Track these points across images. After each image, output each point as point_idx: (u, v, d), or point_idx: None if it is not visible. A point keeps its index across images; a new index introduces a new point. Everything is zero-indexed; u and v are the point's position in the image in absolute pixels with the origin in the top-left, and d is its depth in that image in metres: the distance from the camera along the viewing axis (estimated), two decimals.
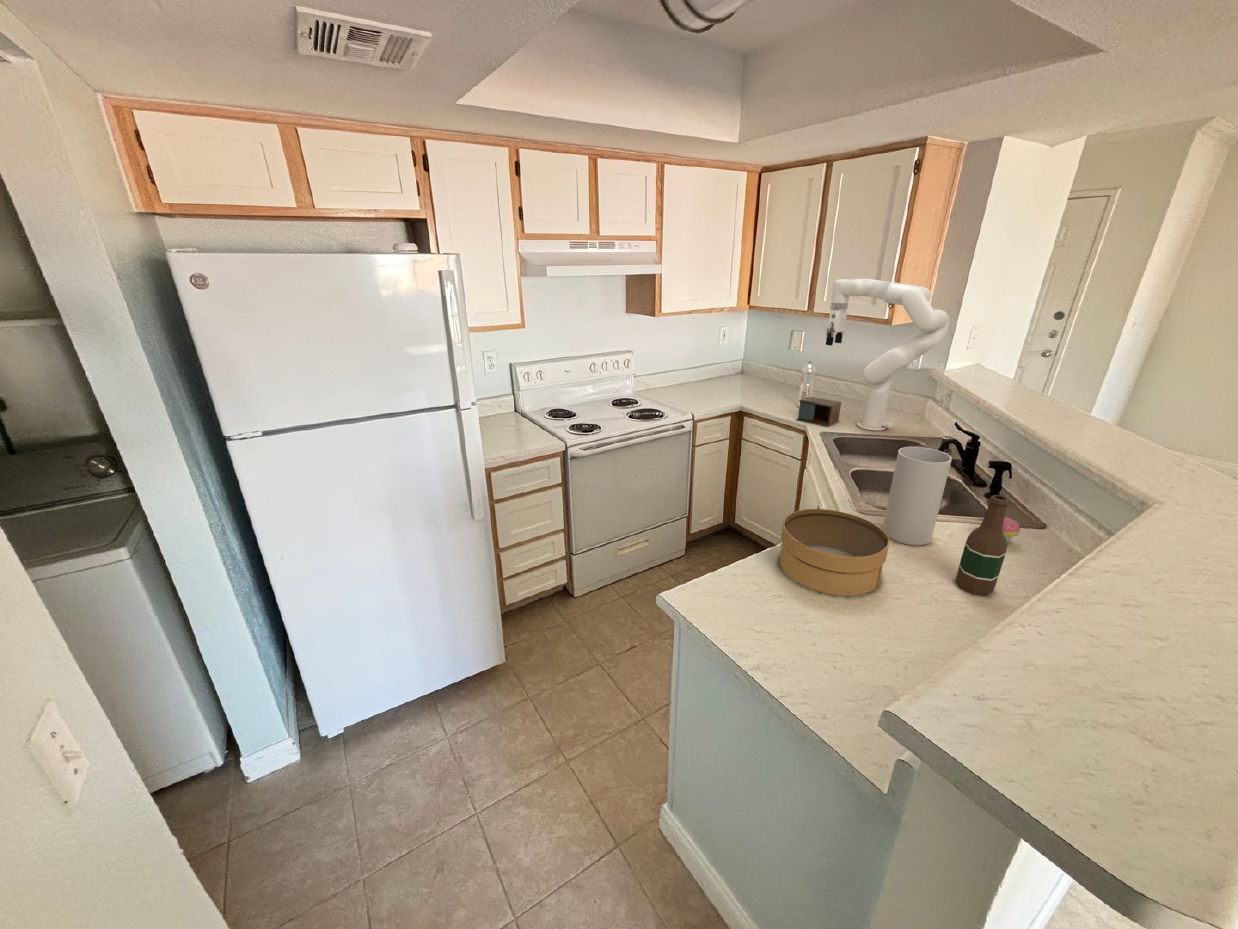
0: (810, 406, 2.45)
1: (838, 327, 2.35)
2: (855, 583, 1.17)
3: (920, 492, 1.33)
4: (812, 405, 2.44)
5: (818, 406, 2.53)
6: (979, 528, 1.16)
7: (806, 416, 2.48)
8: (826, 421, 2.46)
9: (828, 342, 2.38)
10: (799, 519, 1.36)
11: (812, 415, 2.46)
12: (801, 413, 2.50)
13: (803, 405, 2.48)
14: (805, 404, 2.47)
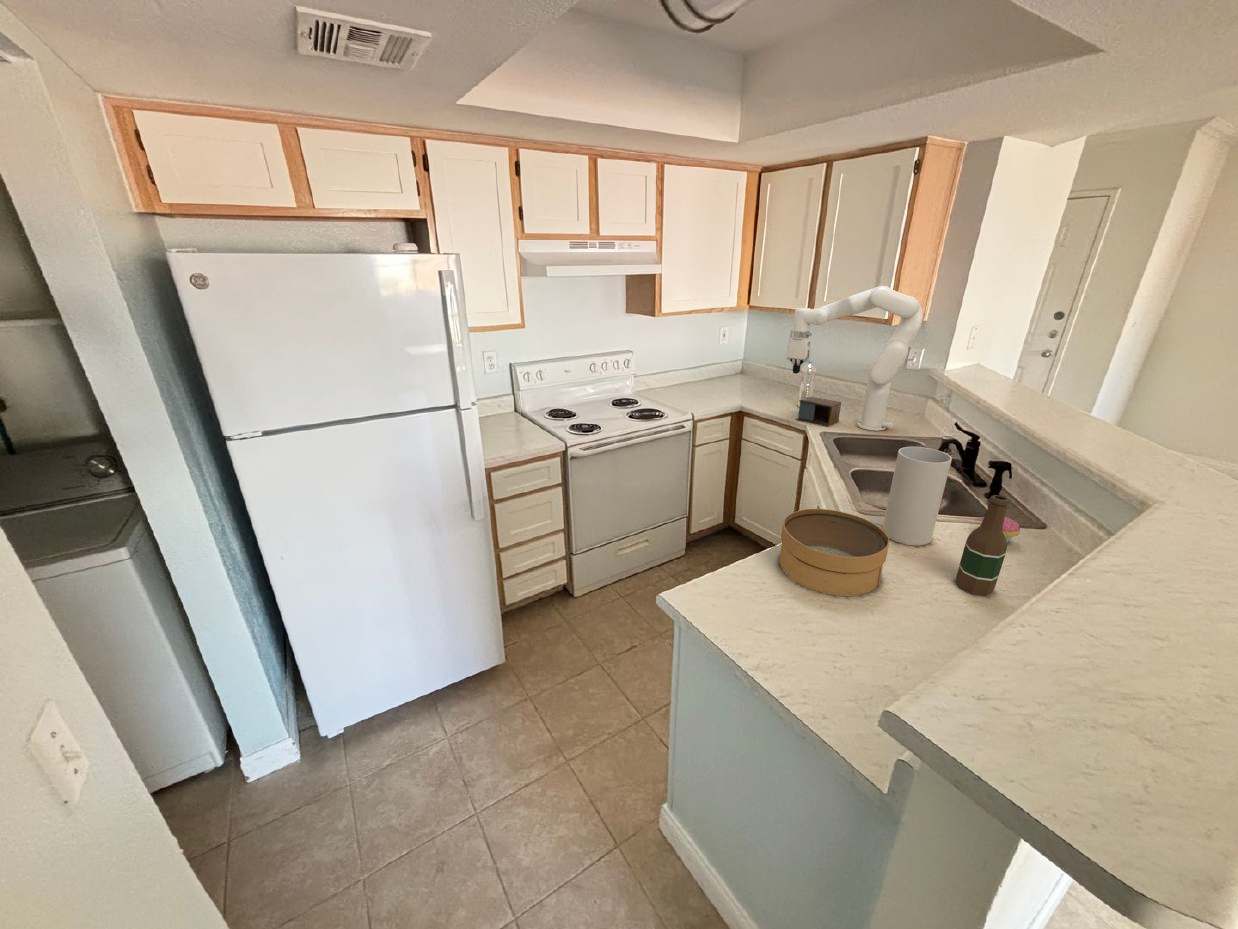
0: (810, 406, 2.45)
1: None
2: (855, 583, 1.17)
3: (920, 492, 1.33)
4: (812, 405, 2.44)
5: (818, 406, 2.53)
6: (979, 528, 1.16)
7: (806, 416, 2.48)
8: (826, 421, 2.46)
9: (799, 370, 2.45)
10: (799, 519, 1.36)
11: (812, 415, 2.46)
12: (801, 413, 2.50)
13: (803, 405, 2.48)
14: (805, 404, 2.47)
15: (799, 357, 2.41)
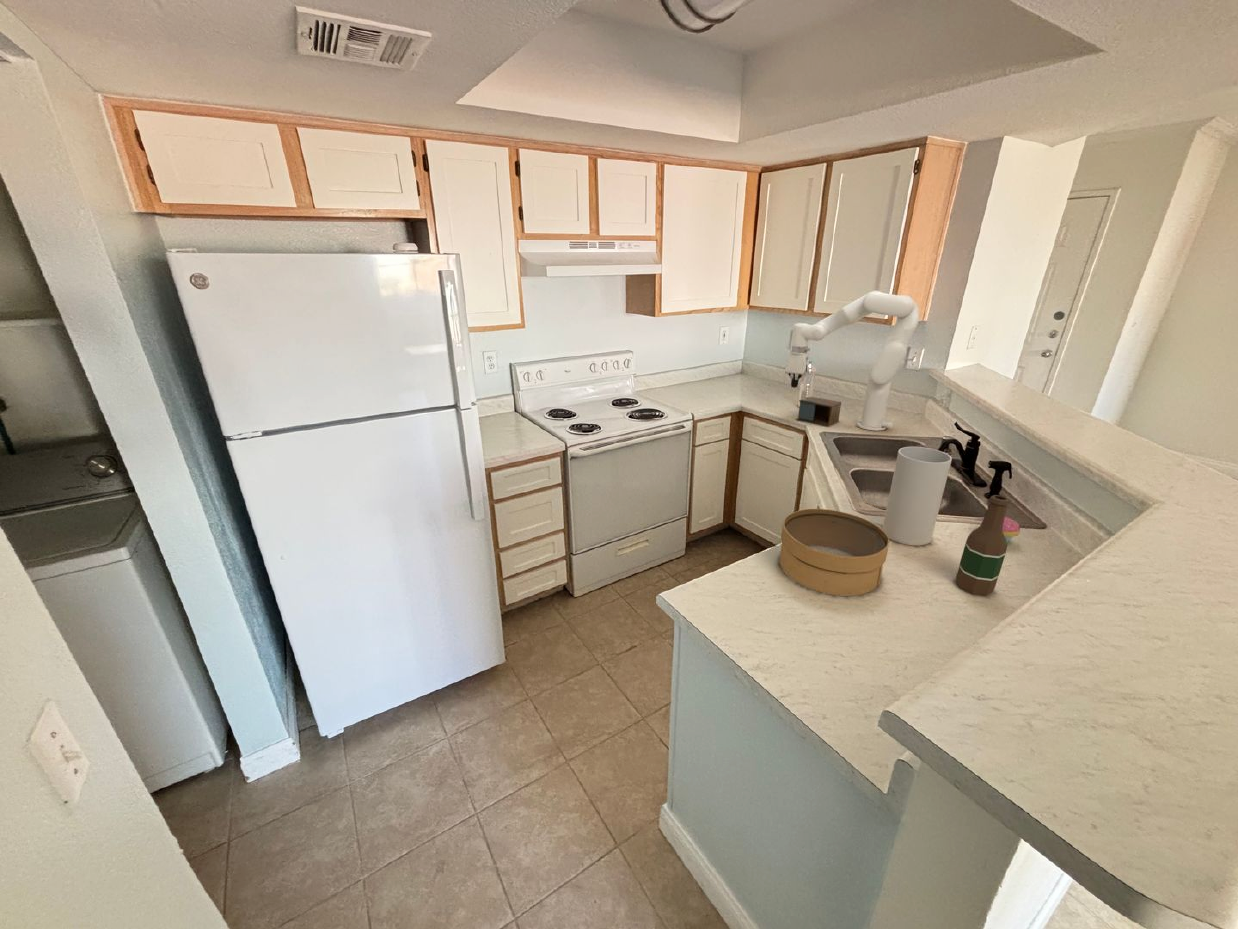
0: (810, 406, 2.45)
1: None
2: (855, 583, 1.17)
3: (920, 492, 1.33)
4: (812, 405, 2.44)
5: (818, 406, 2.53)
6: (979, 528, 1.16)
7: (806, 416, 2.48)
8: (826, 421, 2.46)
9: (797, 384, 2.47)
10: (799, 519, 1.36)
11: (812, 415, 2.46)
12: (801, 413, 2.50)
13: (803, 405, 2.48)
14: (805, 404, 2.47)
15: (797, 372, 2.43)
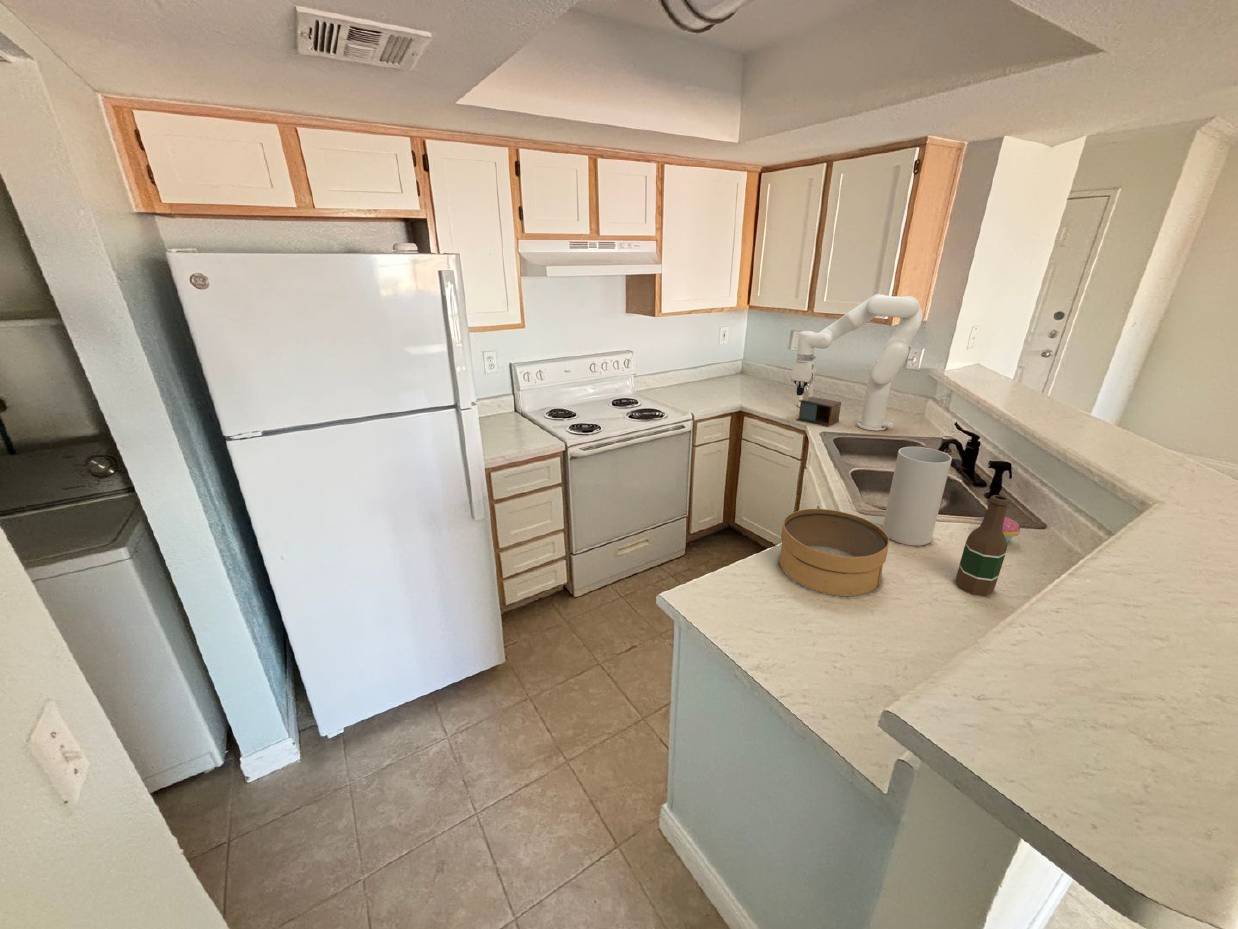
0: (812, 406, 2.45)
1: None
2: (855, 583, 1.17)
3: (920, 492, 1.33)
4: (814, 405, 2.44)
5: (818, 406, 2.53)
6: (979, 528, 1.16)
7: (808, 416, 2.47)
8: (826, 421, 2.46)
9: (802, 392, 2.46)
10: (799, 519, 1.36)
11: (814, 415, 2.45)
12: (803, 413, 2.49)
13: (805, 405, 2.47)
14: (807, 405, 2.46)
15: (803, 379, 2.42)
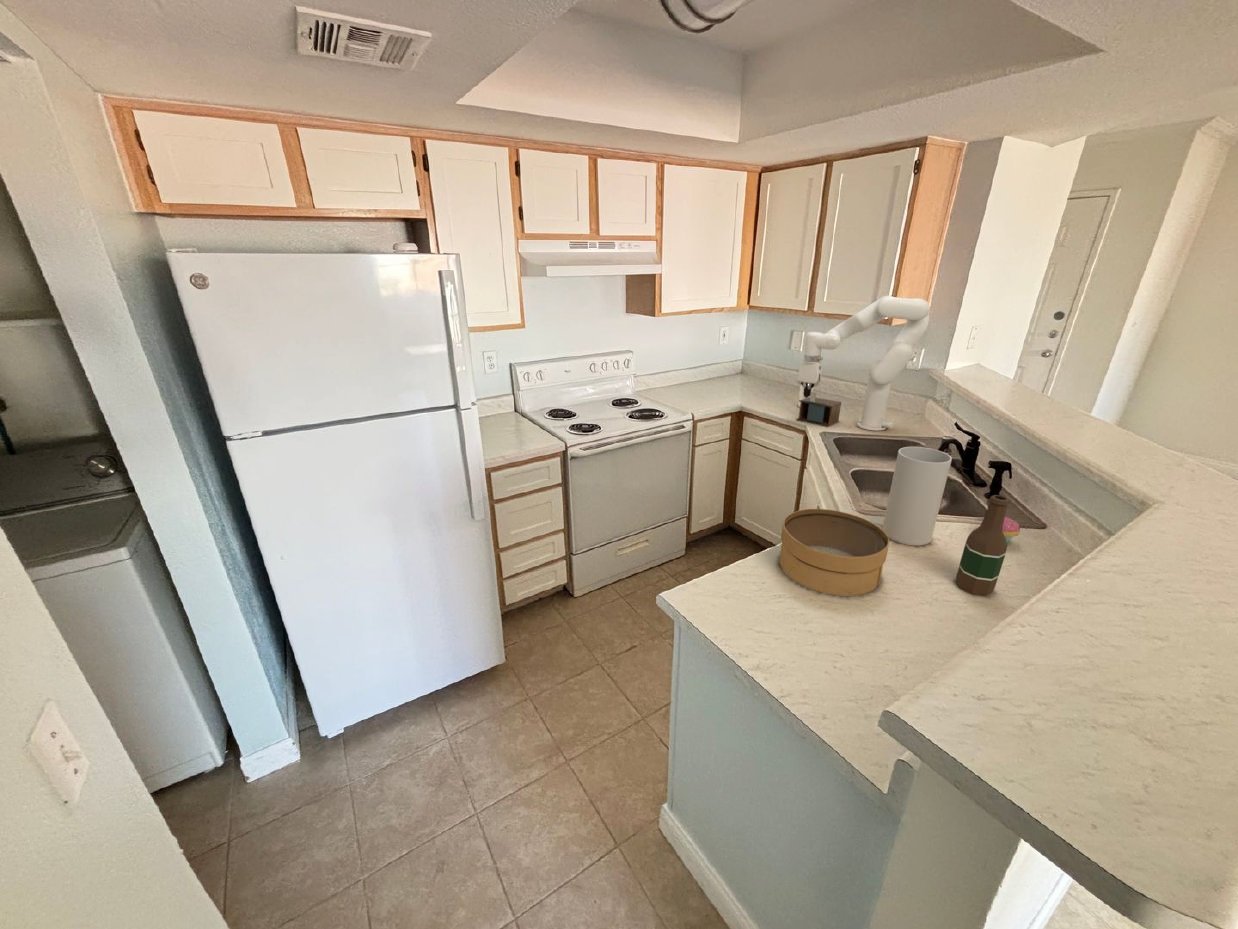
0: (819, 408, 2.42)
1: None
2: (855, 583, 1.17)
3: (920, 492, 1.33)
4: (821, 407, 2.41)
5: None
6: (979, 528, 1.16)
7: (815, 418, 2.45)
8: (826, 421, 2.46)
9: (809, 394, 2.44)
10: (799, 519, 1.36)
11: (821, 417, 2.43)
12: (810, 415, 2.46)
13: (812, 407, 2.45)
14: (815, 406, 2.44)
15: (810, 381, 2.40)
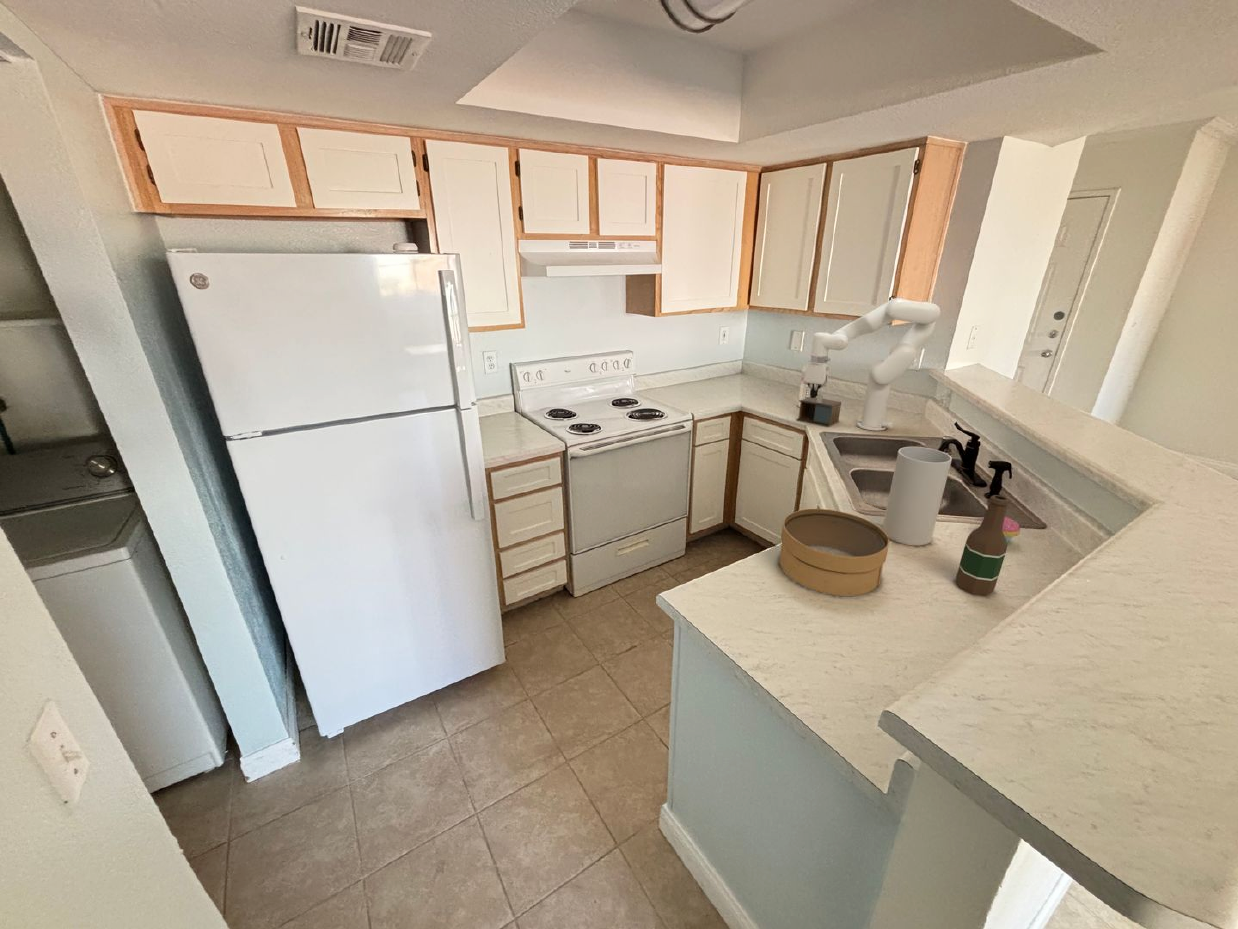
0: (826, 409, 2.40)
1: None
2: (855, 583, 1.17)
3: (920, 492, 1.33)
4: (828, 408, 2.39)
5: None
6: (979, 528, 1.16)
7: (822, 419, 2.43)
8: None
9: (816, 395, 2.42)
10: (799, 519, 1.36)
11: (828, 418, 2.40)
12: (817, 416, 2.44)
13: (819, 408, 2.42)
14: (821, 407, 2.41)
15: (817, 382, 2.38)
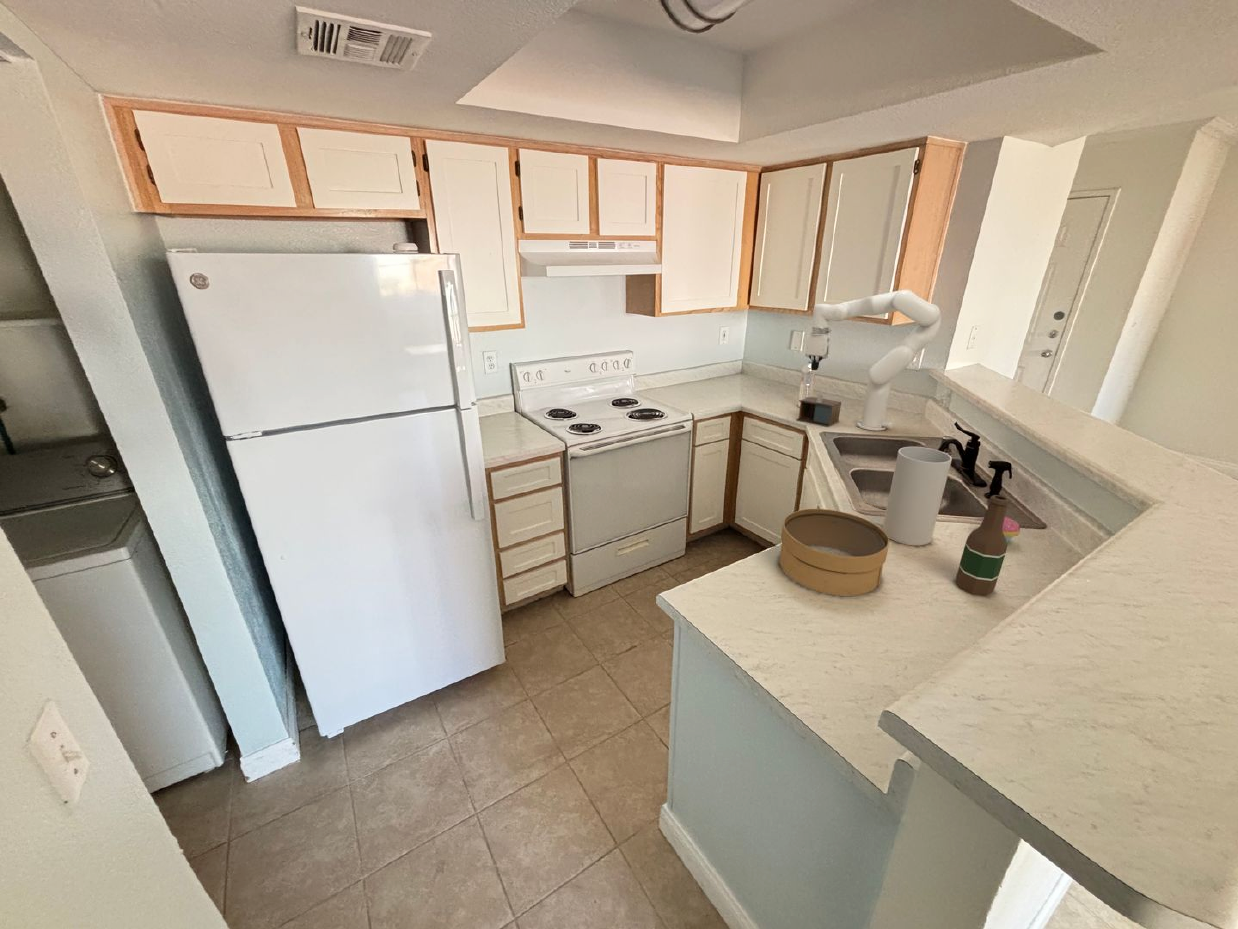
0: (826, 409, 2.40)
1: None
2: (855, 583, 1.17)
3: (920, 492, 1.33)
4: (828, 408, 2.39)
5: None
6: (979, 528, 1.16)
7: (822, 419, 2.43)
8: None
9: (817, 367, 2.42)
10: (799, 519, 1.36)
11: (828, 418, 2.40)
12: (816, 416, 2.44)
13: (819, 408, 2.42)
14: (821, 407, 2.41)
15: (818, 354, 2.38)
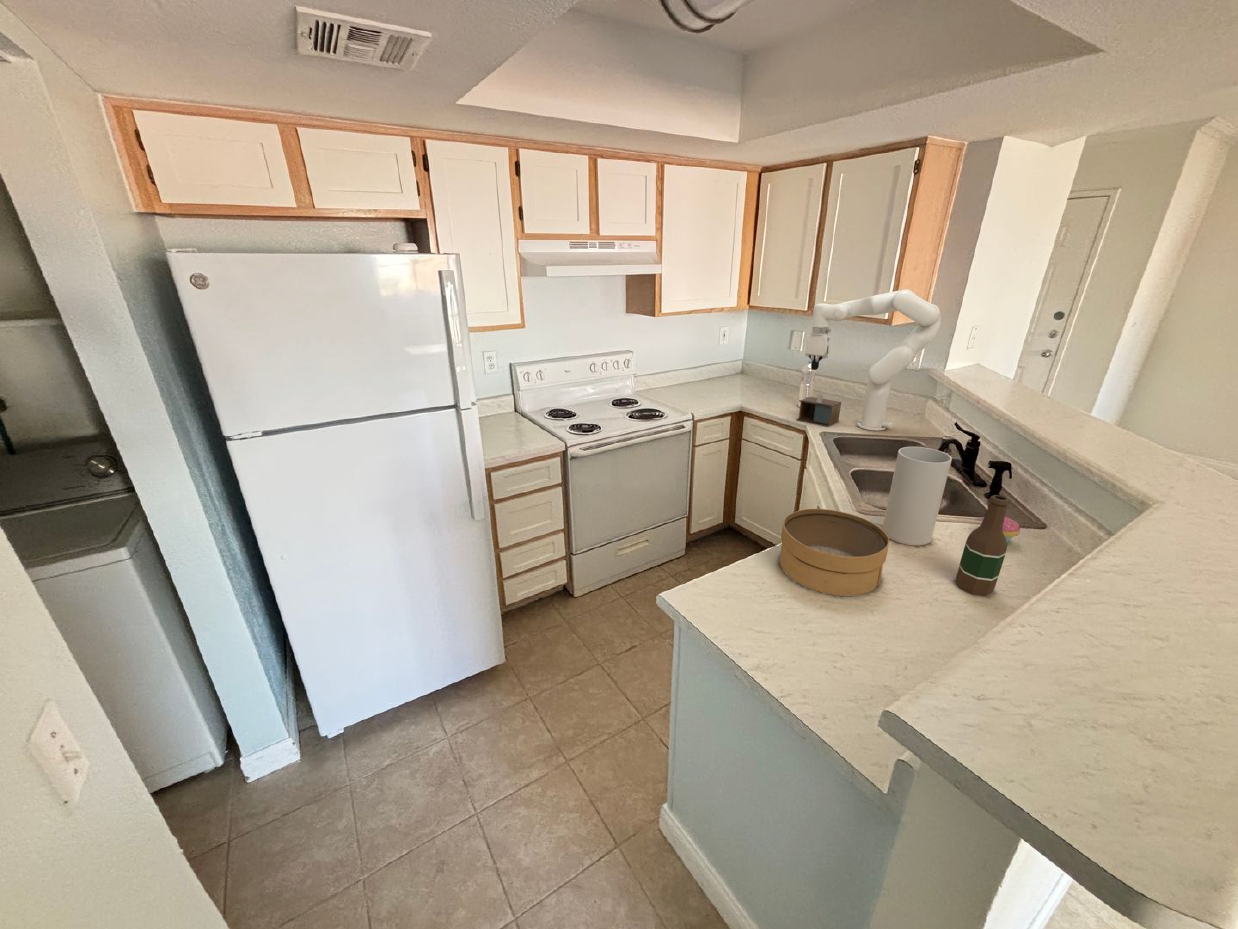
0: (826, 409, 2.40)
1: None
2: (855, 583, 1.17)
3: (920, 492, 1.33)
4: (828, 408, 2.39)
5: None
6: (979, 528, 1.16)
7: (822, 419, 2.43)
8: None
9: (817, 367, 2.42)
10: (799, 519, 1.36)
11: (828, 418, 2.40)
12: (816, 416, 2.44)
13: (819, 408, 2.42)
14: (821, 407, 2.41)
15: (818, 353, 2.38)
